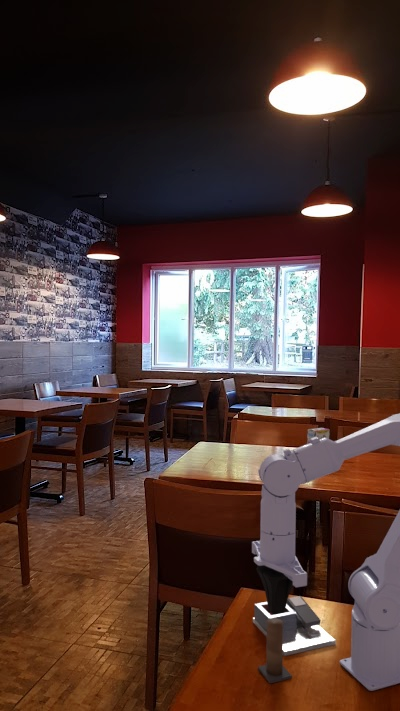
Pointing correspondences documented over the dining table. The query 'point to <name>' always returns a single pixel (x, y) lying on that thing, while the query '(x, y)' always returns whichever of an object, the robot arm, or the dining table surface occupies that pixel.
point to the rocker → (303, 611)
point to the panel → (293, 630)
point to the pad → (273, 679)
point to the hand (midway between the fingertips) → (276, 611)
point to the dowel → (274, 647)
